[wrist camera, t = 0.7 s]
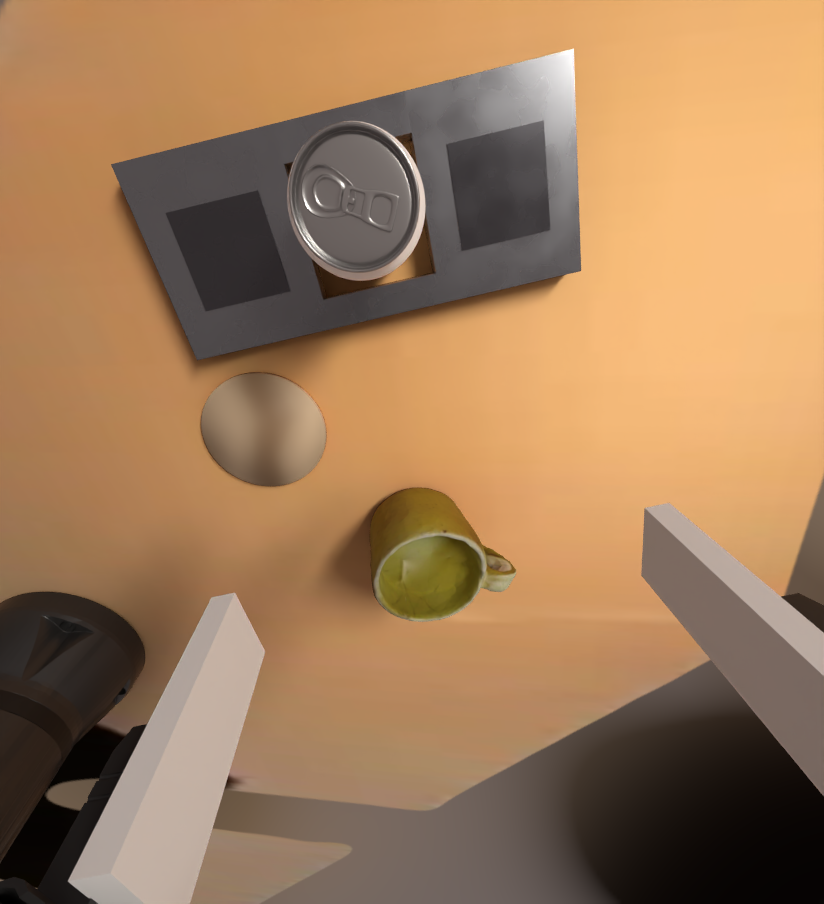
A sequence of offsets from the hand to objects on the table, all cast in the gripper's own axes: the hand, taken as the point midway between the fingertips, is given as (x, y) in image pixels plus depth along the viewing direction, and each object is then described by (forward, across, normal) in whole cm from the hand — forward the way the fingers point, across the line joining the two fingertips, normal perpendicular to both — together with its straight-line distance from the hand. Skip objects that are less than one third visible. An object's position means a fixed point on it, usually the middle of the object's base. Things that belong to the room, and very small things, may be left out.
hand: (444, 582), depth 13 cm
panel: (+22, 0, +12) cm, 26 cm away
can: (+23, 0, +12) cm, 26 cm away
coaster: (+22, -12, -1) cm, 26 cm away
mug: (+23, 0, -14) cm, 27 cm away
